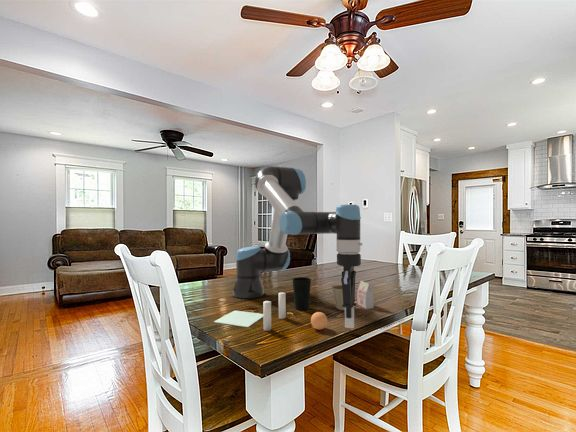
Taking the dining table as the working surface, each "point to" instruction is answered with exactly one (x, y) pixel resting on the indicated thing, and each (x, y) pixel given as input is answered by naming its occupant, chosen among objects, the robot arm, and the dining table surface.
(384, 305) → the dining table surface
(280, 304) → the right post
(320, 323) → the ball
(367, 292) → the milk carton
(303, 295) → the cup
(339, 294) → the flower pot
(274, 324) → the dining table surface
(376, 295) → the dining table surface
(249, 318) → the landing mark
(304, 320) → the dining table surface
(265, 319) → the left post
